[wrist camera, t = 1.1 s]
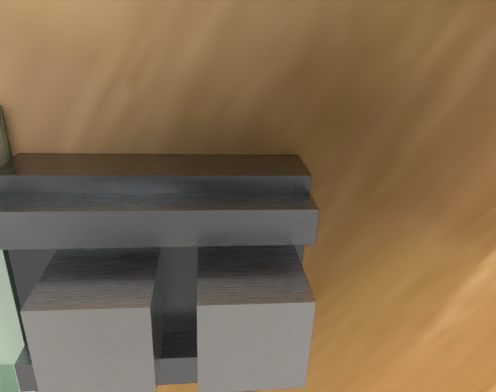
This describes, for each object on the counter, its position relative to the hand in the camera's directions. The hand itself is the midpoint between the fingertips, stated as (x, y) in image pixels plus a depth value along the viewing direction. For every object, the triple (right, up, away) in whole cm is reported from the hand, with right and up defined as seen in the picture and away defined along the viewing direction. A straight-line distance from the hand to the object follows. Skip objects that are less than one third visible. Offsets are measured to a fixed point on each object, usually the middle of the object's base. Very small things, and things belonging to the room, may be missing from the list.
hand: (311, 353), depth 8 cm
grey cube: (-1, -1, +11) cm, 11 cm away
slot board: (-5, 0, +12) cm, 13 cm away
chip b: (-7, -1, +10) cm, 12 cm away
